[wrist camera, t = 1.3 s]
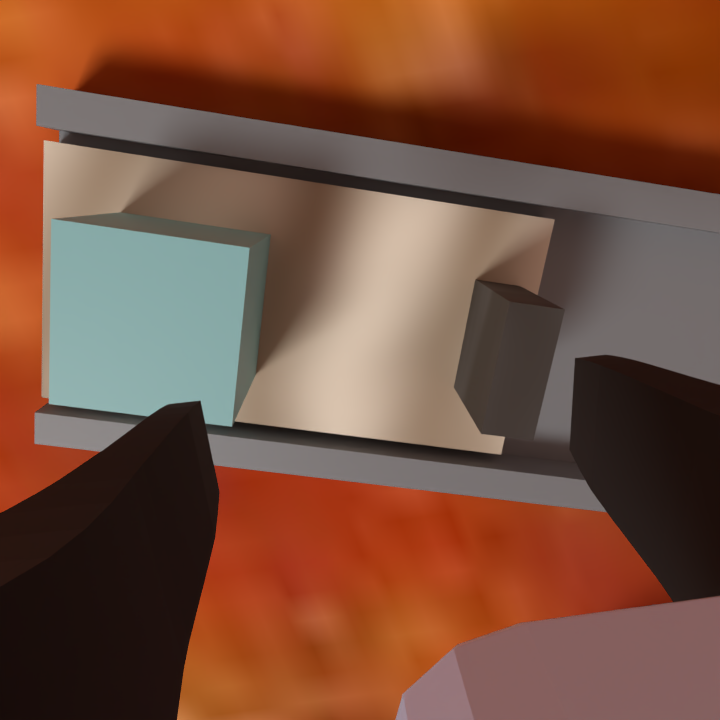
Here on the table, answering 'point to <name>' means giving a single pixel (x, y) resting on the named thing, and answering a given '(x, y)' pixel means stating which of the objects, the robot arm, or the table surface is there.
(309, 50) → the table surface
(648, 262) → the channel
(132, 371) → the block
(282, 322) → the sliding plate with handle
